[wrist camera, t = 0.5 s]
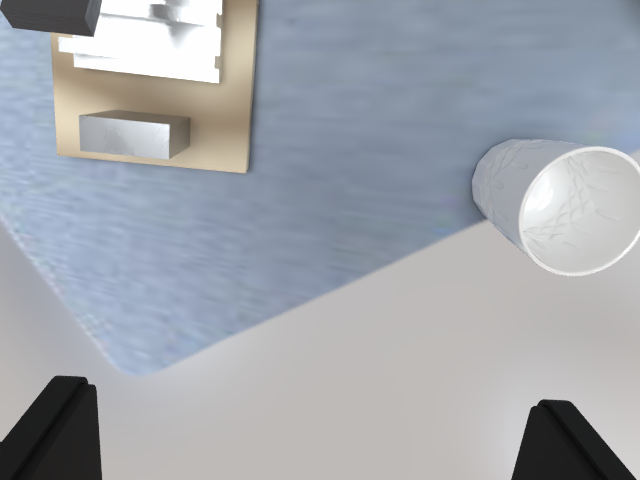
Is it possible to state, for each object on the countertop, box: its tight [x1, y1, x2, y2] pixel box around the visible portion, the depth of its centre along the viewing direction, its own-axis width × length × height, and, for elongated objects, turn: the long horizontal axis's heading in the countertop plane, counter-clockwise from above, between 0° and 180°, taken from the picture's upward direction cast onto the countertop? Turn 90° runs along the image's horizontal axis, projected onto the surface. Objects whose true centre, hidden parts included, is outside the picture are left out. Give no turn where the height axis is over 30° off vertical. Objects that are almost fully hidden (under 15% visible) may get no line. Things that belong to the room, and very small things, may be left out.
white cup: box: [471, 139, 640, 276], centre depth 34 cm, size 8×8×10 cm
